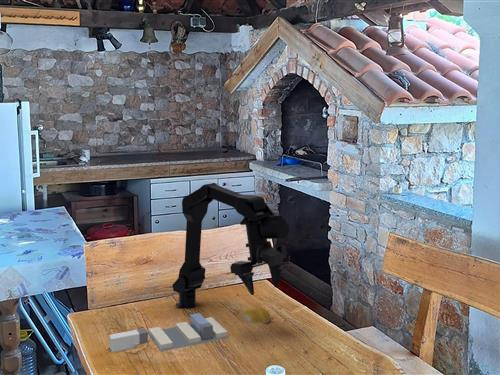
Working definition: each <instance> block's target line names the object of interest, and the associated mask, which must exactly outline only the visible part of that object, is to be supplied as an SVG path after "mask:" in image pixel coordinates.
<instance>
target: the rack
mask: <svg viewBox="0 0 500 375" xmlns="http://www.w3.org/2000/svg"><path fill="white" fill-rule="evenodd" d="M204 318H205V319H206V320H207V321H208V322H209V323H211V324H212V325H213V338H212V339H207V340H202V339H201V337H200V336H199V335H198V334H197V333H196V331H195V330H194V329H193V328H192V327H191V326H190V323H188V322H187V321H184V322H183V321H182V322H177V323H175V326H173V327H168V328H164V329H163V328H161V326H156V327H155V326H154V327H151V328H148V331H147V332H148V337H149V338H150V339H151V340H152V341H153V343H154V344H155V345H156V347H157V348H158V349H159V351H160V352H161V353H162V352H167V351H172V350H177V349H181V348H186V347H190V346H195V345H200V344H201V345H202V344H204V343H210V342H211V343H212V342H215V341H220V340H226V339H229V338H230V336H229V335H228V331H227V330H226V329H225V328H224V327H223V326H222V325H221V324H220V323H219V322H217V321H216V319H215V318H214V317H212V316H211V317H204Z"/></svg>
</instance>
